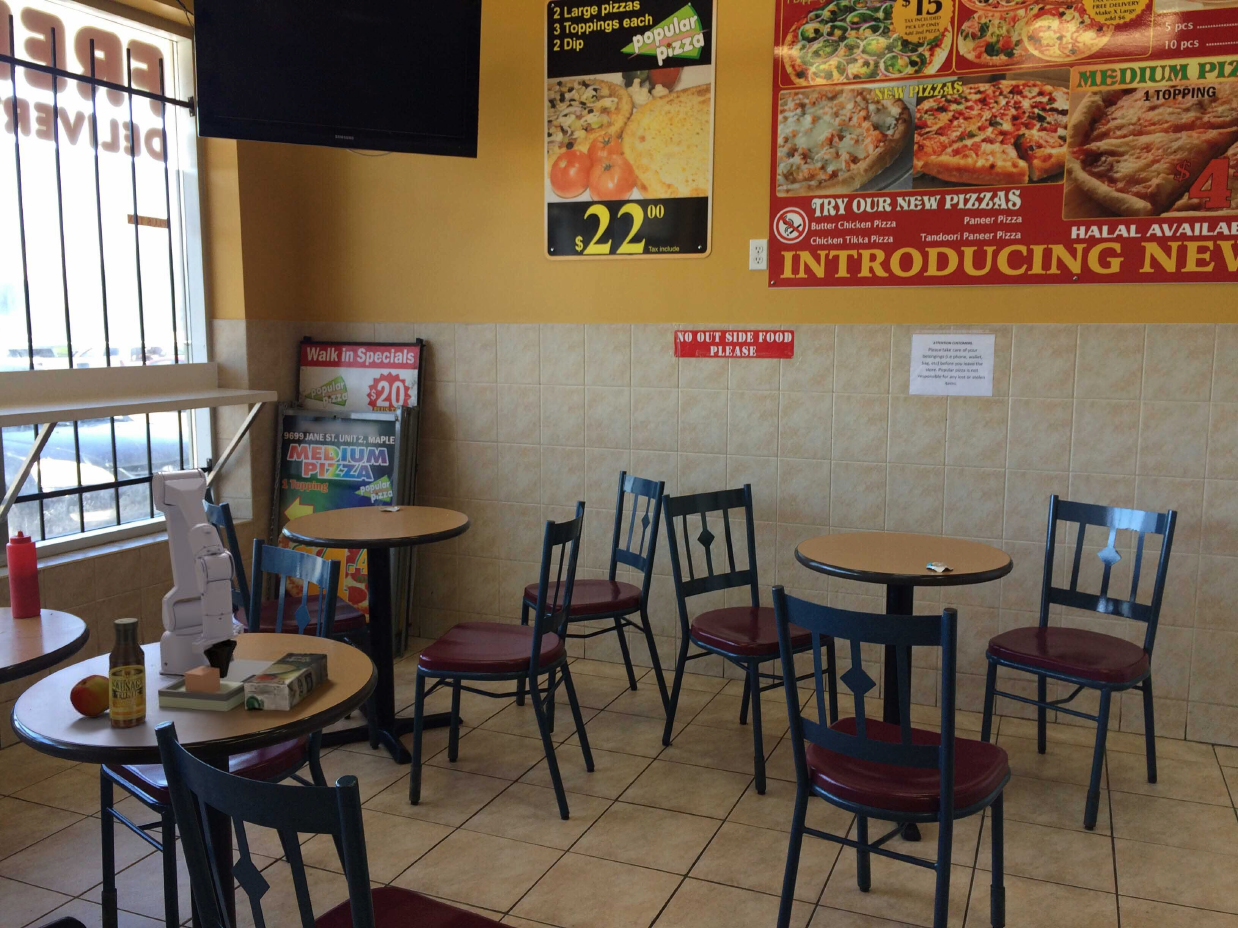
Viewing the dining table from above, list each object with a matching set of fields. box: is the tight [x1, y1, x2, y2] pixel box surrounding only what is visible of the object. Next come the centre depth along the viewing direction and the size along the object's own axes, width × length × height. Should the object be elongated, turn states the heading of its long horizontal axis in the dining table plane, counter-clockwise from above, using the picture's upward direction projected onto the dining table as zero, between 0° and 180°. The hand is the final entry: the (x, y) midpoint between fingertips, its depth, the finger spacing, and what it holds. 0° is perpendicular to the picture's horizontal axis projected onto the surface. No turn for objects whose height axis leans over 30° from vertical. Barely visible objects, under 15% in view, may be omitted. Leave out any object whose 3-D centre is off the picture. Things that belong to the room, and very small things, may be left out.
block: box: [184, 666, 220, 693], centre depth 197 cm, size 4×4×4 cm
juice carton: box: [244, 652, 329, 712], centre depth 202 cm, size 20×10×6 cm, turn 174°
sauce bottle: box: [108, 617, 147, 729], centre depth 185 cm, size 7×6×20 cm
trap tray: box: [157, 653, 276, 712], centre depth 205 cm, size 15×24×3 cm, turn 168°
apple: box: [69, 674, 109, 718], centre depth 190 cm, size 8×8×8 cm
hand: (220, 676), depth 203 cm, fingers closed
